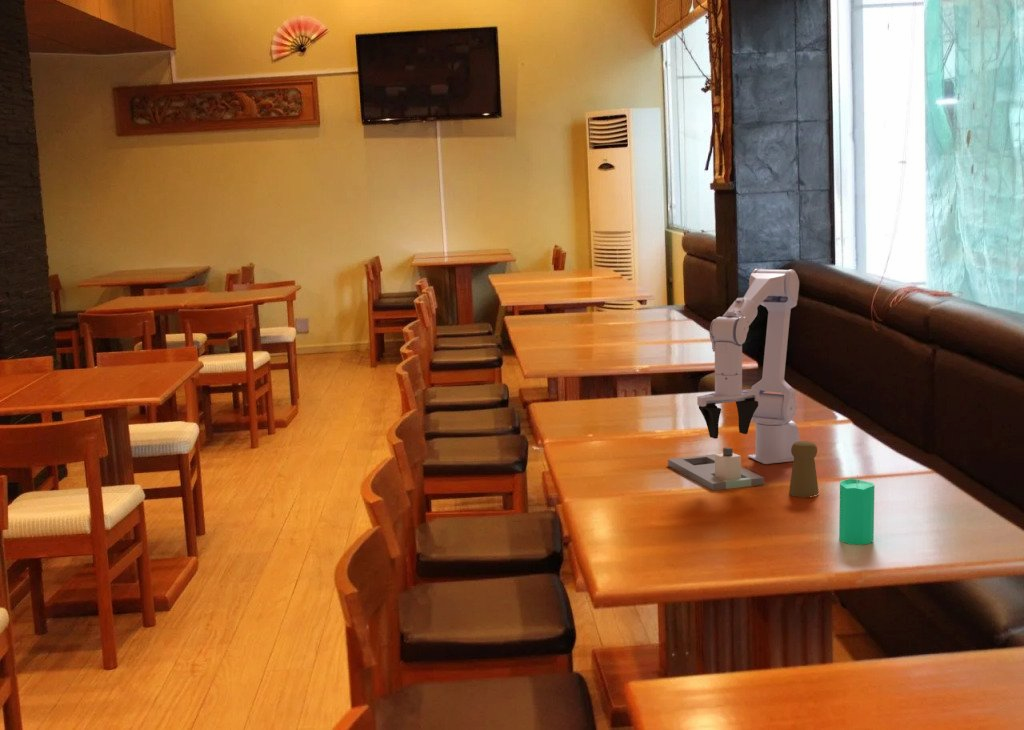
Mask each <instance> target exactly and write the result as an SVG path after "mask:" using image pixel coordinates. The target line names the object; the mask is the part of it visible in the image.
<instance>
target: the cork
mask: <svg viewBox="0 0 1024 730" xmlns="http://www.w3.org/2000/svg"><path fill="white" fill-rule="evenodd" d="M791 453H792V455H793V457H794V461H792V468H791V476H790V483H789V490H788V494H789V495H790V496H791V495H793V496H792V497H794V496H799V497H798V498H800V497H810V496H814V495H817V494H818V493H819V494H820V492H819V486H818V485H819V484H818V476H817V469H816V461H815V459H816V456H817V455H818V454H817V453H818V447H817V445H816V444H815V442H812V441H808V440H799V441H798V442H795V443H794V444H793V445H792V448H791Z"/></svg>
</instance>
